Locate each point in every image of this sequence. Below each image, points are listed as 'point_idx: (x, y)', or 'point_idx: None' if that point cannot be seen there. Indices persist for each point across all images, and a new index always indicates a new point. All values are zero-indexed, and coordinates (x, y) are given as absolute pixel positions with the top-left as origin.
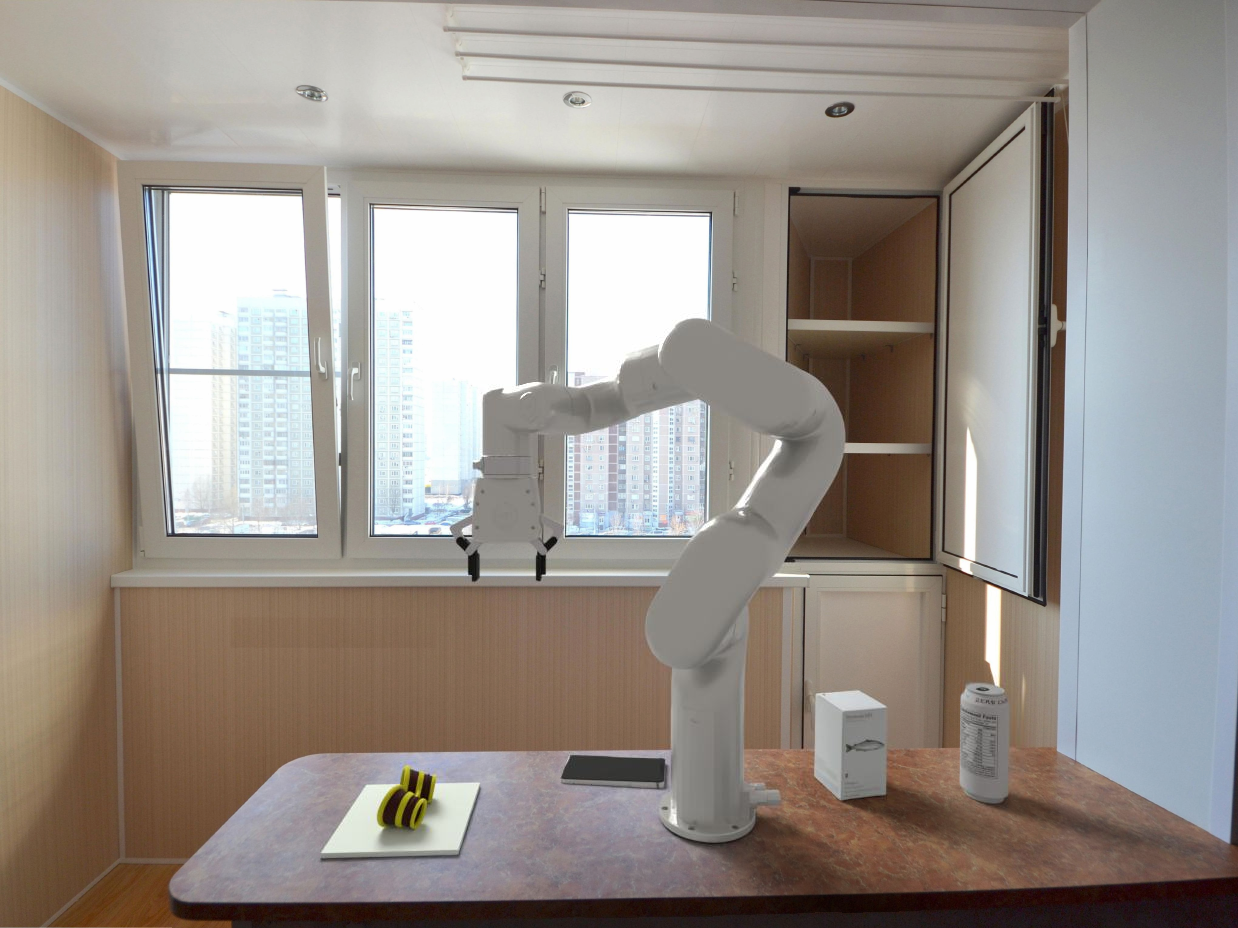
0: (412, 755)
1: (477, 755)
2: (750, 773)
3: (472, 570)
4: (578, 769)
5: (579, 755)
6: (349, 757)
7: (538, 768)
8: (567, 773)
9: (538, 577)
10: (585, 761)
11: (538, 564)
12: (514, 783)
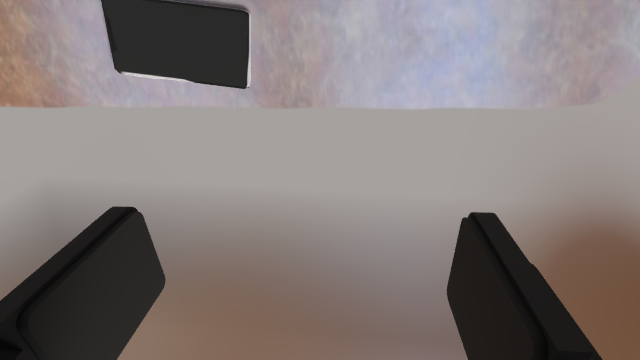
0: (476, 102)
1: (380, 99)
2: (2, 36)
3: (516, 253)
4: (228, 40)
5: (235, 87)
6: (572, 98)
7: (288, 56)
8: (241, 27)
9: (113, 215)
10: (222, 66)
11: (52, 265)
12: (316, 8)
